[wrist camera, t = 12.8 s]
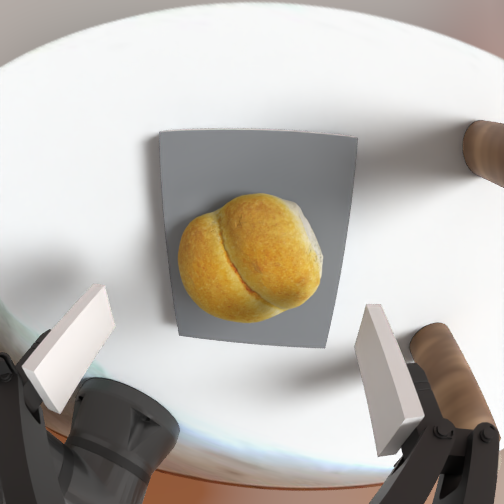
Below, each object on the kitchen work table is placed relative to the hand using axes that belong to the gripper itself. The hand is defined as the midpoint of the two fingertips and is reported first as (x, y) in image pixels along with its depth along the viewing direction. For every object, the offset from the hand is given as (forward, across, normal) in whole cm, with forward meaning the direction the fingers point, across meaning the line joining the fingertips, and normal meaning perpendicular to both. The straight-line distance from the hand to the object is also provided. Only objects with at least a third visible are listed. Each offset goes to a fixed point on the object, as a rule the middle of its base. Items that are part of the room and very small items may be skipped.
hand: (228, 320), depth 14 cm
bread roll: (+7, +1, 0) cm, 7 cm away
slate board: (+9, +1, 0) cm, 9 cm away
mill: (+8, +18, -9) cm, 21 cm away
